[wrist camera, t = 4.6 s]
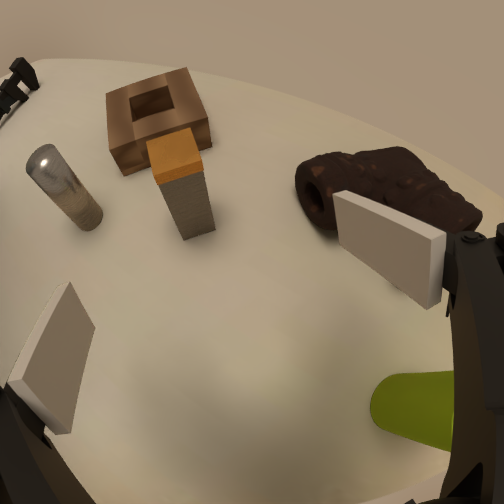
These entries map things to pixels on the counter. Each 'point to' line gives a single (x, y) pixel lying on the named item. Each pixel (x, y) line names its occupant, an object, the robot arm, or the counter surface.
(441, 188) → the pipe
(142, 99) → the socket block
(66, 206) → the cylinder
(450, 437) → the soap dispenser
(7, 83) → the adjustable wrench
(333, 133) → the counter surface
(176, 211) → the square bit
